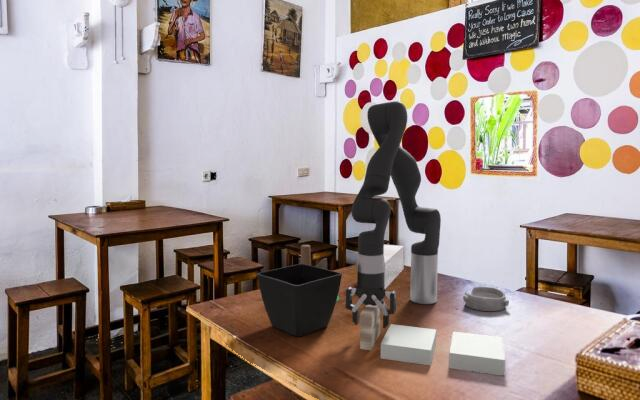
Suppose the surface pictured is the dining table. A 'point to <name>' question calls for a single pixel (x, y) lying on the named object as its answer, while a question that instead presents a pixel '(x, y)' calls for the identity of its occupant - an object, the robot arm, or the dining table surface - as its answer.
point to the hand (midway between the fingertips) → (370, 325)
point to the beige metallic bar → (369, 326)
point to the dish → (486, 299)
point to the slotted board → (464, 350)
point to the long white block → (392, 262)
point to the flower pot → (299, 297)
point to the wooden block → (307, 257)
